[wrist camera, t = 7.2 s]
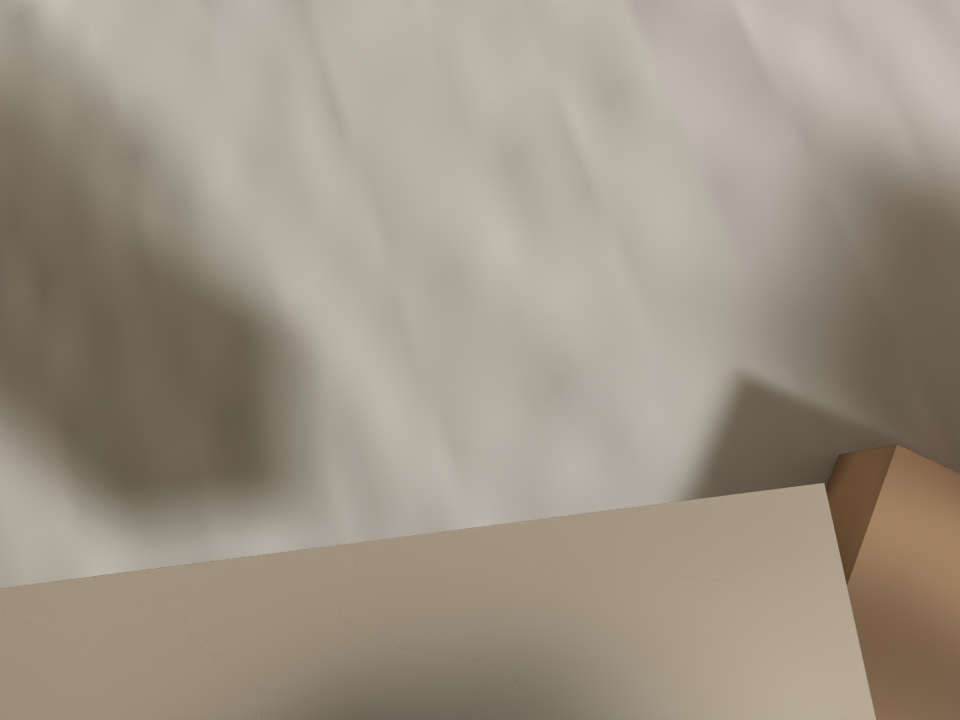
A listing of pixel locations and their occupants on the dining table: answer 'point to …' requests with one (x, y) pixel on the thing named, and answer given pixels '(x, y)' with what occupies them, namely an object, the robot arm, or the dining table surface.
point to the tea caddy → (466, 625)
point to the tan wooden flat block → (902, 577)
